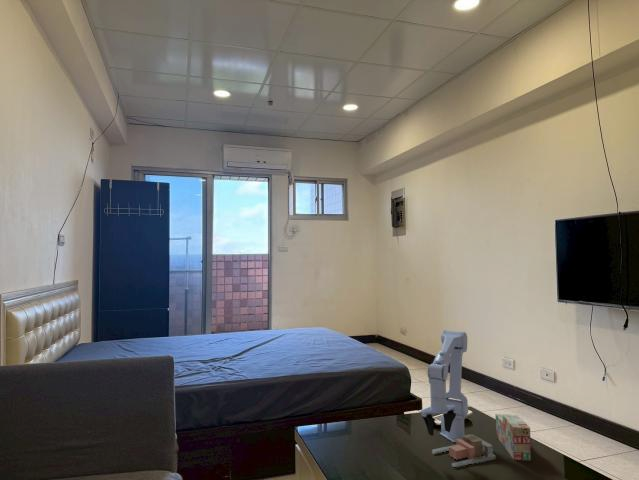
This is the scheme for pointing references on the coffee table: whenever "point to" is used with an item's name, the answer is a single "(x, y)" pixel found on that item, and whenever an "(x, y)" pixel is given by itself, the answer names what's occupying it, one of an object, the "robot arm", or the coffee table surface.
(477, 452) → the block
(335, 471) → the coffee table surface
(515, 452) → the stack of blocks
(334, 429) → the coffee table surface
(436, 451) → the pale grey flat frame
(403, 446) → the coffee table surface
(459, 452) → the block
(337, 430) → the coffee table surface
